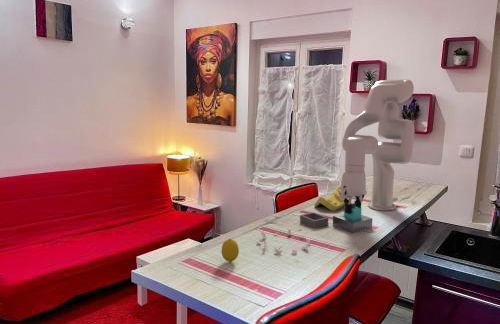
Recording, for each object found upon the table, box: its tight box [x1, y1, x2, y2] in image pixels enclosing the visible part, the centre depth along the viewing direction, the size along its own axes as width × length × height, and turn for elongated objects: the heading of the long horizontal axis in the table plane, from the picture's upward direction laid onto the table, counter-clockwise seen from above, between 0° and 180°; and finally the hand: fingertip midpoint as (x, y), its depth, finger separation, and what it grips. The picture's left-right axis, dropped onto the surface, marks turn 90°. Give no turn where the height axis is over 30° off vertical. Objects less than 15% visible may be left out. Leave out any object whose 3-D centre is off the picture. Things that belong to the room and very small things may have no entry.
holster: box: [299, 211, 329, 229], centre depth 156 cm, size 8×9×3 cm
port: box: [332, 213, 373, 234], centre depth 152 cm, size 11×11×4 cm
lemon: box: [221, 238, 240, 263], centre depth 119 cm, size 6×6×8 cm
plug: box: [343, 202, 362, 221], centre depth 151 cm, size 4×6×10 cm
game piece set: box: [256, 227, 311, 255], centre depth 134 cm, size 19×20×4 cm
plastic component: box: [314, 186, 349, 212], centre depth 182 cm, size 20×8×10 cm
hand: (352, 211), depth 151 cm, fingers open, 4 cm apart
